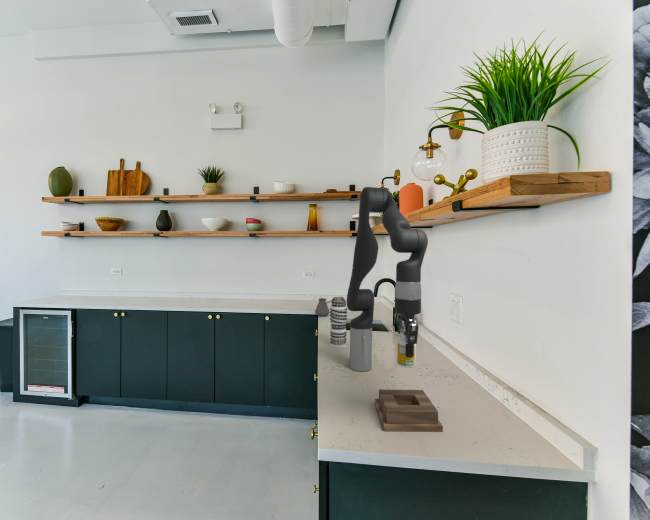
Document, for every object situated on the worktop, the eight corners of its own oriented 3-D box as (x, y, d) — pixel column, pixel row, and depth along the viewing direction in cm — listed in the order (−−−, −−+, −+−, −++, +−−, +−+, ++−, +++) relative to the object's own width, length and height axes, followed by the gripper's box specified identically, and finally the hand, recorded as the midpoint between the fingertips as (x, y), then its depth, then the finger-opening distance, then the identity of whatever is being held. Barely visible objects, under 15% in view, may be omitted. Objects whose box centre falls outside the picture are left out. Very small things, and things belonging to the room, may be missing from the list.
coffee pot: (313, 316, 240) (313, 297, 240) (315, 313, 252) (316, 294, 251) (342, 317, 238) (342, 297, 238) (342, 314, 249) (343, 295, 249)
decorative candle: (346, 347, 163) (346, 299, 162) (328, 346, 164) (328, 298, 164) (347, 342, 172) (348, 296, 171) (330, 342, 173) (331, 296, 173)
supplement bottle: (402, 360, 99) (402, 329, 98) (419, 364, 95) (419, 332, 95) (394, 365, 95) (394, 332, 94) (411, 369, 91) (411, 335, 91)
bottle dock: (374, 403, 103) (375, 388, 103) (424, 403, 103) (424, 388, 103) (384, 431, 87) (384, 413, 87) (442, 431, 87) (443, 413, 87)
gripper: (390, 293, 102) (389, 346, 102) (401, 300, 87) (399, 361, 88) (413, 293, 102) (412, 346, 102) (428, 300, 87) (427, 362, 88)
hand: (406, 353), depth 95 cm, fingers closed on supplement bottle, 5 cm apart
